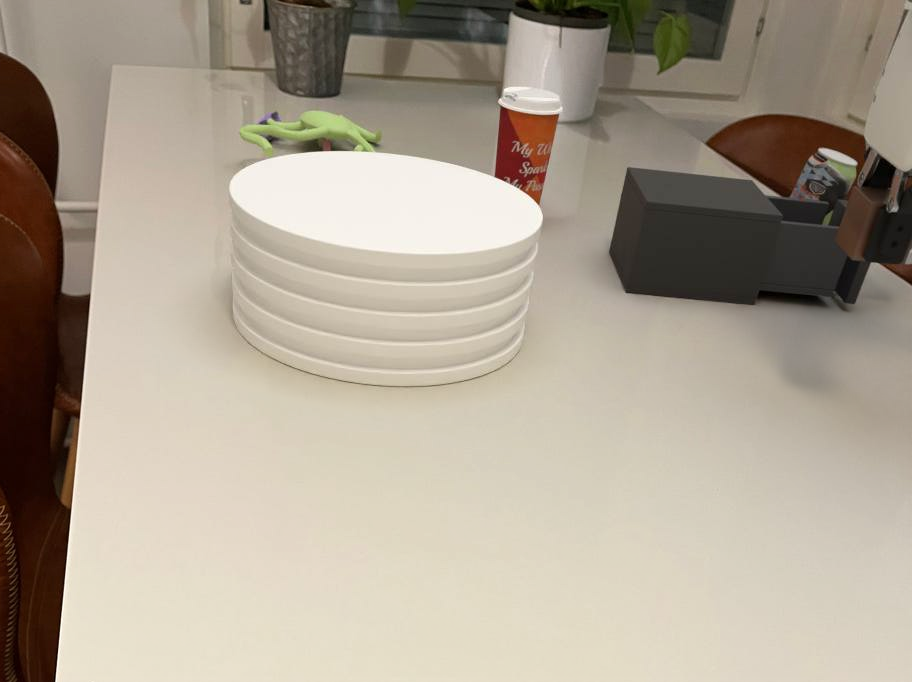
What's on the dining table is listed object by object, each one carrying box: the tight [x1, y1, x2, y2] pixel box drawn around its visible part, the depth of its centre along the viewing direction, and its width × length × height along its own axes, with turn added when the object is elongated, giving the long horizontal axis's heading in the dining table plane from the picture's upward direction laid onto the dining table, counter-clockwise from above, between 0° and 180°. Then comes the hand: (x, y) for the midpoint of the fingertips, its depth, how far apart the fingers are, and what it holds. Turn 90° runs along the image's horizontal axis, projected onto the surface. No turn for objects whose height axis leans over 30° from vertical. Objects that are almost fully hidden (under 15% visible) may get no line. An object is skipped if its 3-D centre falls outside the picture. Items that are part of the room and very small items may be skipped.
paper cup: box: [494, 86, 564, 207], centre depth 120 cm, size 8×8×14 cm
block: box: [835, 185, 912, 265], centre depth 81 cm, size 4×4×4 cm
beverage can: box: [789, 147, 858, 226], centre depth 121 cm, size 6×7×12 cm
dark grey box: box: [608, 166, 783, 306], centre depth 110 cm, size 15×13×10 cm
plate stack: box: [228, 150, 544, 387], centre depth 92 cm, size 28×28×12 cm
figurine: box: [238, 110, 383, 158], centre depth 133 cm, size 18×27×6 cm
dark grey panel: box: [759, 194, 912, 305], centre depth 111 cm, size 19×11×8 cm, turn 91°
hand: (870, 248), depth 82 cm, fingers closed on block, 4 cm apart
